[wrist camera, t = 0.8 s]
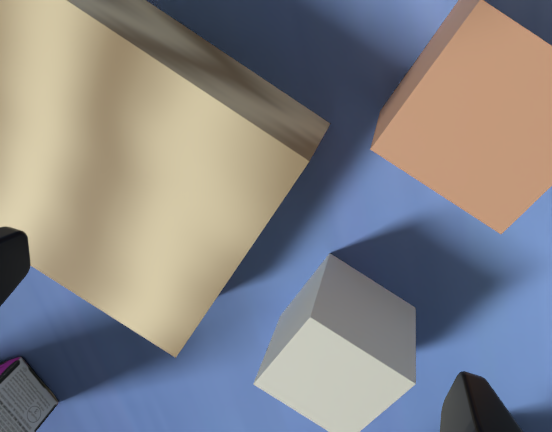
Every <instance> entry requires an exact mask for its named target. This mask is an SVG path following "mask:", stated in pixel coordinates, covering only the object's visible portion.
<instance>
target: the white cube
mask: <svg viewBox="0 0 552 432" xmlns="http://www.w3.org/2000/svg"><path fill="white" fill-rule="evenodd" d="M415 384H416V308H415V307H414V306H412V305H410V304H409V303H407V302H406V301H404V300H403V299H401V298H399V297H398V296H396V295H395V294H393V293H392V292H390V291H388V290H387V289H385V288H384V287H382V286H381V285H379V284H377V283H376V282H374V281H373V280H371V279H370V278H368V277H367V276H365V275H363V274H362V273H360V272H359V271H357V270H356V269H354V268H352V267H351V266H349V265H348V264H346V263H345V262H343V261H341V260H340V259H338V258H337V257H335V256H334V255H332V254H330V253H329V255H328V256H327V257H326V259H325V260H324V261H323V262H322V264H321V265H320V266H319V267H318V269H317V270H316V271H315V273H314V274H313V275H312V276H311V278H310V279H309V280H308V281H307V283H306V284H305V285H304V286H303V288H302V289H301V290H300V292H299V293H298V294H297V295H296V297H295V298H294V299H293V300H292V302H291V303H290V304H289V305H288V307H287V308H286V309H285V311H284V312H283V313H282V314H281V316H280V318H279V321H278V323H277V326H276V328H275V331H274V333H273V336H272V338H271V341H270V343H269V346H268V349H267V351H266V354H265V356H264V359H263V361H262V364H261V366H260V369H259V371H258V374H257V376H256V379H255V381H254V385H255V386H257V387H259V388H260V389H262V390H263V391H265V392H267V393H268V394H270V395H271V396H273V397H275V398H276V399H278V400H279V401H281V402H283V403H284V404H286V405H287V406H289V407H290V408H292V409H294V410H295V411H297V412H298V413H300V414H302V415H303V416H305V417H306V418H308V419H310V420H311V421H313V422H314V423H316V424H318V425H319V426H321V427H322V428H324V429H326V430H327V431H329V432H360V431H361V430H362V429H363V428H364V427H366V426H367V425H368V424H369V423H370V422H371V421H373V420H374V419H375V418H376V417H377V416H379V415H380V414H381V413H382V412H383V411H384V410H386V409H387V408H388V407H389V406H390V405H392V404H393V403H394V402H395V401H396V400H397V399H399V398H400V397H401V396H402V395H403V394H405V393H406V392H407V391H408V390H409V389H410V388H412V387H413V386H414V385H415Z"/></svg>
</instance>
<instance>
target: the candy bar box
mask: <svg viewBox="0 0 552 432" xmlns="http://www.w3.org/2000/svg"><path fill="white" fill-rule="evenodd" d="M57 405H58V401H57V399H56V397H55V396H54V394H53V393H52V392H51V390H50V389H49V388H48V387H47V386H46V385H45V384H44V383H43V382H42V380H41V379H40V378H39V377H38V376H37V375H36V374H35V373H34V371H33V370H32V369H31V368H30V366H29V365H28V364H27V363H26V362H25V361H24V359H23V358H22V357H17V358H14V359H11V360H8V361H5V362H2V363H0V432H36V431H37V429H38V428H39V427H40V426H41V424H42V423H43V422H44V421H45V419H46V418H47V417H48V416H49V414H50V413H51V412H52V411H53V410H54V408H55V407H56V406H57Z"/></svg>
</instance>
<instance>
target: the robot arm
mask: <svg viewBox="0 0 552 432" xmlns="http://www.w3.org/2000/svg"><path fill="white" fill-rule="evenodd" d="M30 264H31V262H30V252H29V243H28V236H27V235H26V233H25V232H24V231H21V230H18V229H15V228H12V227H8V226H5V227H0V306H1V305H2V304H3V303H4V301H5V300H6V299H7V298H8V297H9V295H10V294H11V293H12V292H13V291H14V289H15V288H16V287H17V286H18V285H19V283H20V282H21V281H22V280H23V279H24V277H25V276H26V275H27V273H28V271H29V269H30ZM440 432H523V431H522V429H521V428H520V427H519V425H518V424H517V422H516V421H515V420H514V418H513V417H512V415H511V414H510V413H509V411H508V410H507V408H506V407H505V406H504V404H503V403H502V401H501V400H500V398H499V397H498V396H497V394H496V393H495V391H494V390H493V389H492V387H491V386H490V384H489V383H488V382H487V380H486V379H485V378H483V377H481V376H478V375H475V374H472V373H468V372H465V371H463V372H460V373H459V374H458V375H457V377H456V379H455V381H454V383H453V385H452V387H451V389H450V390H449V392H448V394H447V396H446V398H445V400H444V403H443V406H442V412H441V424H440Z"/></svg>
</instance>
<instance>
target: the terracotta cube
mask: <svg viewBox="0 0 552 432" xmlns="http://www.w3.org/2000/svg"><path fill="white" fill-rule="evenodd" d="M371 150H372V151H374V152H375V153H377V154H378V155H380V156H381V157H383V158H384V159H386V160H387V161H389V162H391V163H392V164H394V165H395V166H397V167H398V168H400V169H401V170H403V171H404V172H406V173H407V174H409V175H411V176H412V177H414V178H415V179H417V180H418V181H420V182H421V183H423V184H424V185H426V186H427V187H429V188H431V189H432V190H434V191H435V192H437V193H438V194H440V195H441V196H443V197H444V198H446V199H447V200H449V201H451V202H452V203H454V204H455V205H457V206H458V207H460V208H461V209H463V210H464V211H466V212H467V213H469V214H471V215H472V216H474V217H475V218H477V219H478V220H480V221H481V222H483V223H484V224H486V225H487V226H489V227H491V228H492V229H494V230H495V231H497V232H498V233H500V234H502V233H503V232H504V231H505V230H506V229H507V228H508V227H509V226H510V225H511V224H512V223H513V222H514V221H515V220H517V219H518V218H519V217H520V216H521V215H522V214H523V213H524V212H525V211H526V210H527V209H528V208H529V207H530V206H531V205H532V204H533V203H534V202H535V201H536V200H537V199H538V198H539V197H540V196H541V195H543V194H544V193H545V192H546V191H547V190H548V189H549V188H550V187H551V186H552V46H551V45H550V44H548V43H547V42H545V41H544V40H542V39H541V38H539V37H538V36H536V35H535V34H533V33H532V32H530V31H529V30H527V29H526V28H524V27H523V26H521V25H520V24H518V23H517V22H515V21H514V20H512V19H511V18H509V17H508V16H506V15H505V14H503V13H502V12H500V11H499V10H497V9H496V8H494V7H493V6H491V5H490V4H488V3H487V2H485V1H484V0H459V1H458V2H457V3H456V5H455V6H454V8H453V9H452V10H451V12H450V13H449V15H448V16H447V17H446V19H445V20H444V22H443V23H442V25H441V26H440V27H439V29H438V30H437V32H436V33H435V34H434V36H433V37H432V39H431V40H430V41H429V43H428V44H427V46H426V47H425V48H424V50H423V51H422V53H421V54H420V56H419V57H418V58H417V60H416V61H415V63H414V64H413V65H412V67H411V68H410V70H409V71H408V72H407V74H406V75H405V77H404V78H403V79H402V81H401V82H400V84H399V85H398V87H397V88H396V89H395V91H394V92H393V94H392V95H391V96H390V98H389V99H388V101H387V102H386V103H385V105H384V106H383V108H382V109H381V110H380V114H379V118H378V122H377V126H376V129H375V133H374V137H373V141H372V145H371Z"/></svg>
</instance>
